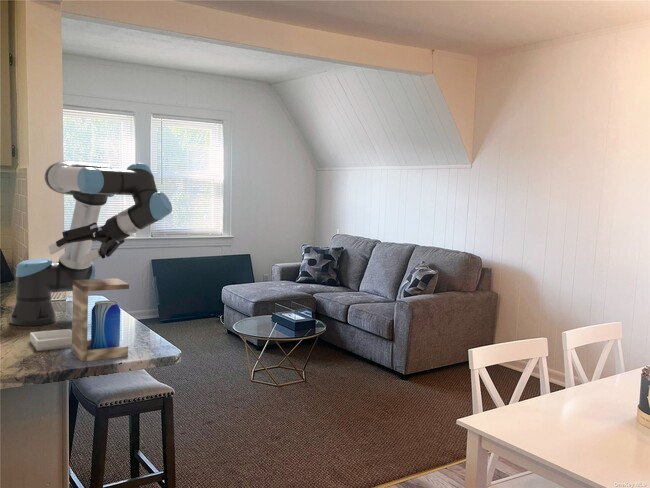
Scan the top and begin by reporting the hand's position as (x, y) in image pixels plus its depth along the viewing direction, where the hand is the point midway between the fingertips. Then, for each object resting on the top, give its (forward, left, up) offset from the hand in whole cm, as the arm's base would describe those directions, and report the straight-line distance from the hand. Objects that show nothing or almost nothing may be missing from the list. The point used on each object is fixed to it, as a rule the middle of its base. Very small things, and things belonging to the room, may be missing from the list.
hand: (66, 256), depth 172 cm
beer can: (+1, +12, -30) cm, 33 cm away
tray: (-8, -6, -30) cm, 32 cm away
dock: (+2, +11, -30) cm, 32 cm away
